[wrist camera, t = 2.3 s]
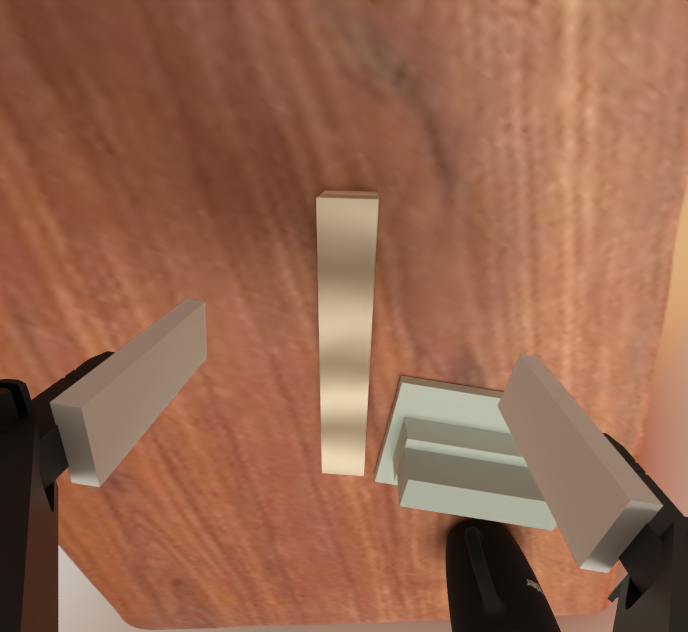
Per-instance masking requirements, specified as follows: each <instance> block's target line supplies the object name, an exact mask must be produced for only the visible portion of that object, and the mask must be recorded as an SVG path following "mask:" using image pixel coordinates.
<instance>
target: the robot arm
mask: <svg viewBox="0 0 688 632" xmlns="http://www.w3.org/2000/svg"><path fill="white" fill-rule="evenodd" d="M206 358H207V345H206V310H205V301H200V300H194V299H188V298H187V299H185V300H184V301H183V302H182V303H180V304H179V305H178V306H176V307H175V308H174V309H172V310H171V311H170V312H168V313H167V314H166V315H164V316H163V317H162V318H160V319H159V320H158V321H156V322H155V323H154V324H153V325H151V326H150V327H149V328H147V329H146V330H145V331H143V332H142V333H141V334H139V335H138V336H137V337H135V338H134V339H133V340H131V341H130V342H129V343H127V344H126V345H125V346H123V347H122V348H121V349H120V350H118V351H117V352H116V353H115V352H109V351H107V352H105V353H102V354H100V355H97V356H95V357H92V358H90V359H89V360H87V361H86V362H84V363H83V364H82V365H80V366H79V367H77V369H76V370H73V371H72V372H70V373H69V374H67V375H66V376H65V378H62V379H60V380H59V381H58V382H56V383H55V384H53V385H52V386H51V387H49V388H48V389H46V390H45V391H44V392H42V393H41V394H39V395H38V396H37V397H35V398H34V399H32V400H31V398H30V394H29V391H28V388H27V386H26V383H24V382H22V381H20V380H13V379H1V380H0V632H58V486H57V482H56V479H57V478H58V477H59V476H60V475H61V473H62V472H63V471H64V470H65V469H66V468H67V467H68V470H69V474H70V478H71V481H72V483H78V484H83V485H89V486H95V487H100V486H101V485H102V484H103V483H104V481H105V480H106V479H107V478H108V477H109V475H110V474H111V473H112V472H113V471H114V469H115V468H116V467H117V466H118V465H119V463H120V462H121V461H122V460H123V458H124V457H125V456H126V455H127V454H128V452H129V451H130V450H131V449H132V448H133V446H134V445H135V444H136V443H137V442H138V440H139V439H140V438H141V437H142V435H143V434H144V433H145V432H146V431H147V429H148V428H149V427H150V426H151V425H152V423H153V422H154V421H155V420H156V419H157V417H158V416H159V415H160V414H161V413H162V411H163V410H164V409H165V408H166V406H167V405H168V404H169V403H170V402H171V400H172V399H173V398H174V397H175V396H176V394H177V393H178V392H179V391H180V390H181V388H182V387H183V386H184V385H185V384H186V382H187V381H188V380H189V379H190V377H191V376H192V375H193V374H194V373H195V371H196V370H197V369H198V368H199V367H200V365H201V364H202V363H203V362H204V361H205V359H206ZM497 407H498V409H499V410H500V412H501V414H502V416H503V418H504V420H505V422H506V424H507V426H508V428H509V430H510V432H511V434H512V436H513V438H514V440H515V442H516V444H517V446H518V448H519V450H520V452H521V454H522V456H523V458H524V460H525V462H526V464H527V466H528V468H529V470H530V472H531V474H532V476H533V478H534V480H535V482H536V484H537V486H538V487H539V489H540V491H541V493H542V495H543V497H544V499H545V501H546V503H547V505H548V507H549V509H550V511H551V513H552V515H553V517H554V519H555V521H556V523H557V525H558V527H559V529H560V531H561V533H562V535H563V537H564V539H565V541H566V543H567V545H568V547H569V549H570V551H571V553H572V555H573V557H574V559H575V561H576V563H577V564H578V566H579V568H581V569H587V570H592V571H598V572H604V573H608V572H609V571H610V570H611V568H612V567H613V566H614V565H615V564H616V562H617V561H618V560H619V559H620V561H621V563H622V564H623V566H624V568H625V569H626V571H627V572H628V574H627V576H626V577H625V578H624V579H623V580H622V581H621V582H620V584H619V585H618V586H617V587H616V588H615V589H614V590H613V591H612V593H611V594H610V595H609V597H608V599H609V600H610V601H611V602H613V601H614V600H615V599H616V598H617V597H619V600H618V604H617V610H616V616H615V621H614V627H613V632H688V517H684V516H683V514H682V513H681V512H680V511H679V510H678V509H677V508H676V506H675V505H674V504H673V503H672V502H671V501H670V499H669V498H668V497H667V496H666V495H665V494H664V493H663V491H662V490H661V489H660V488H659V487H658V486H657V485H656V483H655V482H654V481H653V480H652V479H651V478H650V477H649V476H648V475H646V474H645V471H644V470H643V469H642V467H641V466H640V465H639V464H638V463H635V459H634V458H633V457H632V456H631V455H630V454H629V452H628V451H627V450H626V449H625V448H624V447H623V446H622V445H621V444H619V443H618V442H617V441H616V440H614V439H613V438H612V437H610V436H609V435H608V434H606V433H602V432H601V431H600V430H599V428H598V427H597V426H596V425H595V424H594V422H593V421H592V420H591V419H590V418H589V416H588V415H587V414H586V413H585V412H584V411H583V409H582V408H581V407H580V406H579V405H578V403H577V402H576V401H575V400H574V399H573V397H572V396H571V395H570V394H569V393H568V391H567V390H566V389H565V388H564V387H563V386H562V384H561V383H560V382H559V381H558V380H557V378H556V377H555V376H554V375H553V374H552V372H551V371H550V370H549V369H548V368H547V366H546V365H545V364H544V363H543V362H542V360H541V359H540V358H539V357H537V356H531V355H525V354H520V355H519V357H518V359H517V362H516V364H515V366H514V369H513V371H512V373H511V376H510V378H509V380H508V383H507V385H506V387H505V390H504V392H503V394H502V396H501V399H500V401H499V403H498V406H497Z"/></svg>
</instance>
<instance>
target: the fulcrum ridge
mask: <svg viewBox="0 0 688 632" xmlns="http://www.w3.org/2000/svg"><path fill="white" fill-rule="evenodd" d="M502 394H503V392H500V391H494V390H488V389H482V388H476V387H470V386H463V385H457V384H451V383H445V382H439V381H433V380H426V379H420V378H414V377H408V376H402V375H401V377H400V381H399V385H398V389H397V392H396V396H395V400H394V403H393V407H392V411H391V415H390V418H389V422H388V426H387V429H386V433H385V437H384V441H383V444H382V448H381V452H380V455H379V459H378V463H377V467H376V470H375V482H381V483H387V484H393V485H398V493H399V505H400V506H403V507H409V508H415V509H422V510H428V511H434V512H440V513H446V514H453V515H459V516H465V517H471V518H478V519H484V520H490V521H496V522H502V523H509V524H515V525H521V526H527V527H533V528H540V529H546V530H552V531H553V530H554V528H555V527H556V525H557V523H556V521H555V519H554V517H553V515H552V513H551V511H550V509H549V507H548V505H547V503H546V501H545V499H544V497H543V495H542V493H541V491H540V489H539V487H538V486H537V484H536V482H535V480H534V478H533V476H532V474H531V472H530V470H529V468H528V466H527V464H526V462H525V460H524V458H523V456H522V454H521V452H520V450H519V448H518V446H517V444H516V442H515V440H514V438H513V436H512V434H511V432H510V430H509V428H508V426H507V424H506V422H505V420H504V418H503V416H502V414H501V412H500V410H499V409H498V407H497V406H498V403H499V401H500V399H501V396H502Z"/></svg>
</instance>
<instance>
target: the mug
mask: <svg viewBox="0 0 688 632" xmlns="http://www.w3.org/2000/svg"><path fill="white" fill-rule="evenodd" d="M446 578H447V591H448V601H449V610H450V619H451V626H452V632H561V631H560V628H559V626H558V624H557V622H556V619H555V617H554V615H553V612H552V610H551V608H550V606H549V603H548V601H547V599H546V597H545V595H544V593H543V591H542V589H541V587H540V584H539V582H538V580H537V578H536V576H535V574H534V572H533V570H532V568H531V567H530V565H529V563H528V561H527V559H526V557H525V556H524V554H523V552H522V550H521V549H520V547H519V545H518V544H517V542H516V541H515V539H514V538H513V537H512V535H511V534H510V533H509V532H508V531H507V530H506V529H505V528H504V527H503V526H502V525H500V524H498V523H496V522H493V521H490V520H483V519H477V520H470V521H466V522H463V523H461V524H459V525H457V526H456V527H455V528H454V529H453V530H452V531H451V532H450V534H449V536H448V540H447V545H446Z"/></svg>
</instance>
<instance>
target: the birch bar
mask: <svg viewBox="0 0 688 632" xmlns="http://www.w3.org/2000/svg"><path fill="white" fill-rule="evenodd" d="M378 203H379V198H378V193H377V191H330V190H325V191H324V192H323V193H321V194H320V195H319V196H318V197H317V198H316V213H317V260H318V307H319V354H320V401H321V448H322V473H329V474H344V475H359V476H364V461H365V443H366V424H367V406H368V387H369V369H370V350H371V332H372V313H373V295H374V276H375V258H376V239H377V221H378Z"/></svg>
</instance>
